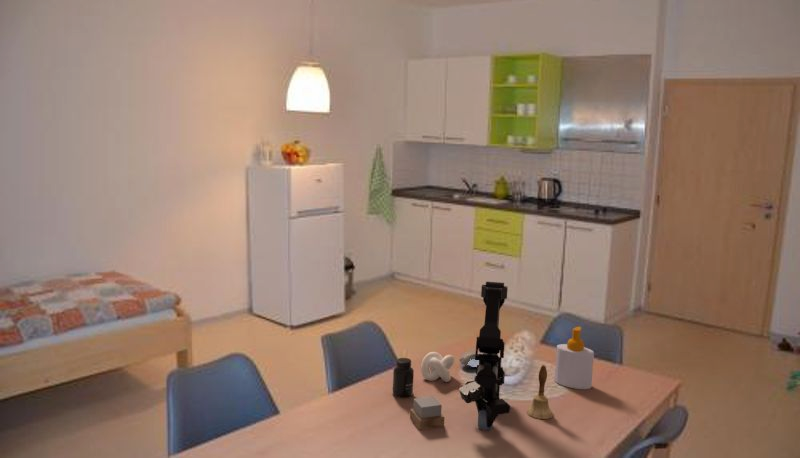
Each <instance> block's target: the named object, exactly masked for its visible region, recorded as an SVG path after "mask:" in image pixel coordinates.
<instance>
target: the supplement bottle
mask: <svg viewBox="0 0 800 458" xmlns="http://www.w3.org/2000/svg"><path fill="white" fill-rule="evenodd" d="M395 364H396V366H395V367H394V368H393V370H392V371H393V373H392V374H393V375H392V394H393V396H395V397H397V398H400V399H401V398H402V399H404V398H405V399H406V398H410V397H412V395H413V392H414V372H415V371H414V369H413V367H412V360H411V358H407V357H399V358H397V359H396V363H395Z"/></svg>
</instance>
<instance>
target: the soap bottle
mask: <svg viewBox="0 0 800 458" xmlns="http://www.w3.org/2000/svg"><path fill="white" fill-rule="evenodd" d="M581 332H582V326H576V327H574V328H572V336H571V338H569V339H568V340H567V343H563V344H562V343H560V344H557V345H556V353H555V354H556V355H555V366H554V367H555V368H554V382H556V383H557V384H558V385H561V386H564V387H566V388H570V389H576V390H590V389H591V388H592V381H593V373H594V371H593V370H594V361H595V358H594V356H595V352H594V350H592V349H590V348H588V347H585V344H584V341H583V340H582V339H581Z"/></svg>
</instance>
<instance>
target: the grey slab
mask: <svg viewBox="0 0 800 458" xmlns="http://www.w3.org/2000/svg"><path fill="white" fill-rule="evenodd" d="M412 407H413V408H412V409H413V410H414V411H415V412H416V413H417V414H418V415H419V417H420V418H421V419H422V418H429V417H436V416H441V414H442V403H440V402H439V400H437V398H436V397H435V396H434V395H433V396H424V397H417V398H413V406H412Z"/></svg>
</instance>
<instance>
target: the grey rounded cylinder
mask: <svg viewBox="0 0 800 458" xmlns="http://www.w3.org/2000/svg"><path fill="white" fill-rule="evenodd" d="M493 426H494V423H493V424H492V426H491V427H487V421H486V411H485V410H484V409H483V410H480V411H479V412H478V411H477V428H478V429H480V430H483V431H491V430H492V429H493V428H494V427H493Z"/></svg>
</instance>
